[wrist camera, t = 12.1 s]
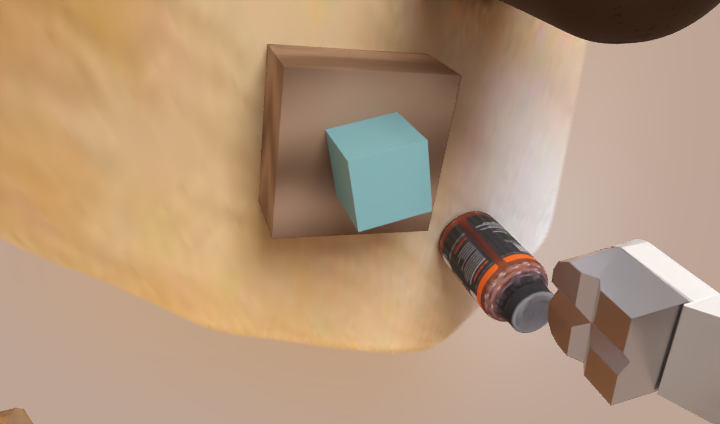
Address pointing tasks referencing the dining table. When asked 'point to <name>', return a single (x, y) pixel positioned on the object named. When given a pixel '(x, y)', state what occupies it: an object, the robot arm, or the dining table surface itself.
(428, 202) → the teal cube
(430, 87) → the walnut block
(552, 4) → the olive oil
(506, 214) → the dining table surface
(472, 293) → the supplement bottle
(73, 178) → the dining table surface
